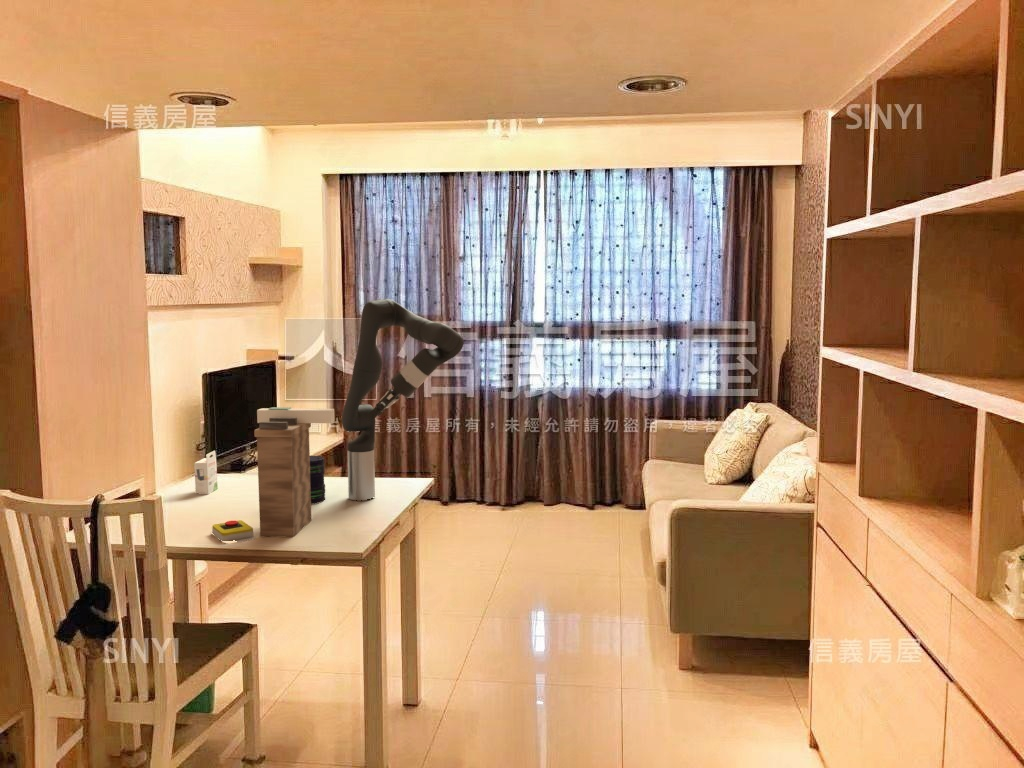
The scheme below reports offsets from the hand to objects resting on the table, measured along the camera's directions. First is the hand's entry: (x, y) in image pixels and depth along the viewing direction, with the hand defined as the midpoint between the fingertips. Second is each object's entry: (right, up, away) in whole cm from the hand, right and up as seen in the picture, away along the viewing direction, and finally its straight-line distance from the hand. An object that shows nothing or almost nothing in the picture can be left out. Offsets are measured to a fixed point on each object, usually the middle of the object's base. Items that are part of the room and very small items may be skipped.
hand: (373, 415), depth 240 cm
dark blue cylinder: (-28, -31, +37) cm, 56 cm away
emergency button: (-41, -36, -5) cm, 55 cm away
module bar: (-25, -2, +5) cm, 25 cm away
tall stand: (-27, -35, +3) cm, 44 cm away
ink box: (-70, -30, +49) cm, 90 cm away
